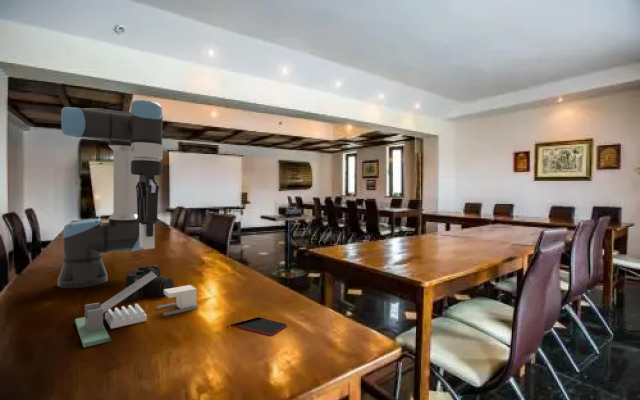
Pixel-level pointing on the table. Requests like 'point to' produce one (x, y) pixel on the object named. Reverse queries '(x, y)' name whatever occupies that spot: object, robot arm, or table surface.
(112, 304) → the grey board dark edge
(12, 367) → the table surface
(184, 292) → the white stepped block
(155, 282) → the camera
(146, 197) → the robot arm
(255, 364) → the table surface
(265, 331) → the smartphone
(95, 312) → the heatsink board
